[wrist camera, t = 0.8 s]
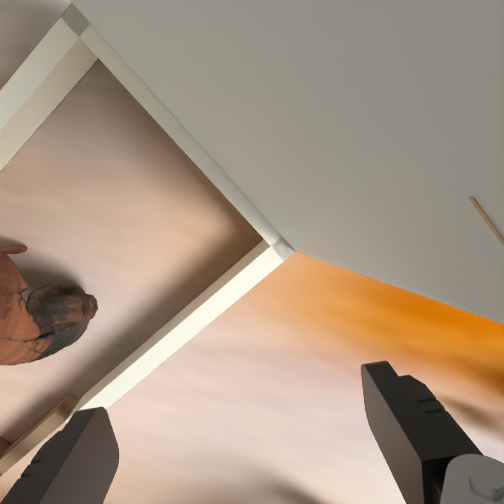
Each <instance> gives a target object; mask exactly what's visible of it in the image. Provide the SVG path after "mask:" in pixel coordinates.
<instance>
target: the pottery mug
mask: <svg viewBox="0 0 504 504" xmlns="http://www.w3.org/2000/svg"><path fill="white" fill-rule="evenodd" d="M26 250H27V247H24V246H23V247H20V246H14V247H4V248H0V365H17V364H20V363H29V362H33V361H36V360H40V359H43V358H44V357H48V356H49V355H52V354H55V353H56V352H58V351H59V350H61V349H63V348H64V347H67V346H69V345H71V344H73V343H74V342H76V341H77V340H78V339H79V338H80V337H81V336H82V335H83V333H84V332H85V330H86V328H87V325H88V323H89V320H90V319H92V318H93V317H94V316H95V314H96V311H97V310H98V306H97V300H96V298H95V297H94V296H93V295H89V294H85V292H84V290H83V289H82V288H81V287H80V286H70V287H62V286H52V285H47V286H44V287H42V288H40V289H37V290H34V291H33V292H31V293H30V295H29V296H28V300H27V302H26V301H25V300H24V299H23V297H22V296H21V294H20V293H21V292H23V291H24V290H27V289H28V285H27V283H26V282H25V280H24V278H23V276H22V275H21V272H20V270H19V269H18V268H17V267H16V266H15V265H14V263H13V261H12V260H11V259H10V258H9V256H7V254H18V253H23V252H25V251H26ZM49 328H52V330H53V331H52V332H48V333H46V334H43V335H41V336H39V335H40V334H41V333H42V330H47V329H49Z"/></svg>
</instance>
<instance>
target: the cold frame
mask: <svg viewBox="0 0 504 504" xmlns="http://www.w3.org/2000/svg"><path fill="white" fill-rule="evenodd" d="M70 1H71V2H72V3H71V4H70V6H69V7H68V8H67V9H66V10H65V12H64V13H63V14H62V15H61V17H60V18H59V19H58V20H57V22H56V23H55V24H54V25H53V26H52V28H51V29H50V30H49V31H48V33H47V34H46V35H45V36H44V37H43V39H42V40H41V41H40V42H39V44H38V45H37V46H36V47H35V49H34V50H33V51H32V52H31V53H30V55H29V56H28V57H27V58H26V60H25V61H24V62H23V63H22V64H21V66H20V67H19V68H18V69H17V71H16V72H15V73H14V74H13V75H12V77H11V78H10V79H9V80H8V82H7V83H6V84H5V85H4V87H3V88H2V89H1V90H0V171H1V170H2V169H3V168H4V166H5V165H6V164H7V163H8V162H9V161H10V160H11V158H12V157H13V156H14V155H15V154H16V153H17V152H18V150H19V149H20V148H21V147H22V146H23V145H24V143H25V142H26V141H27V140H28V139H29V138H30V137H31V135H32V134H33V133H34V132H35V131H36V130H37V129H38V127H39V126H40V125H41V124H42V123H43V122H44V121H45V119H46V118H47V117H48V116H49V115H50V114H51V112H52V111H53V110H54V109H55V108H56V107H57V106H58V104H59V103H60V102H61V101H62V100H63V99H64V98H65V96H66V95H67V94H68V93H69V92H70V91H71V89H72V88H73V87H74V86H75V85H76V84H77V83H78V81H79V80H80V79H81V78H82V77H83V76H84V75H85V73H86V72H87V71H88V70H89V69H90V68H91V67H92V65H93V64H94V63H95V62H96V61H97V60H98V58H99V60H100V61H101V62H102V63H103V64H104V65H105V66H106V67H107V68H108V69H109V70H110V72H111V73H112V74H113V75H114V76H115V77H116V78H117V79H118V80H119V81H120V82H121V84H122V85H123V86H124V87H125V88H126V89H127V90H128V91H129V92H130V93H131V94H132V96H133V97H134V98H135V99H136V100H137V101H138V102H139V103H140V104H141V105H142V106H143V108H144V109H145V110H146V111H147V112H148V113H149V114H150V115H151V116H152V117H153V118H154V120H155V121H156V122H157V123H158V124H159V125H160V126H161V127H162V128H163V129H164V130H165V132H166V133H167V134H168V135H169V136H170V137H171V138H172V139H173V140H174V141H175V142H176V144H177V145H178V146H179V147H180V148H181V149H182V150H183V151H184V152H185V153H186V154H187V156H188V157H189V158H190V159H191V160H192V161H193V162H194V163H195V164H196V165H197V166H198V168H199V169H200V170H201V171H202V172H203V173H204V174H205V175H206V176H207V177H208V178H209V180H210V181H211V182H212V183H213V184H214V185H215V186H216V187H217V188H218V189H219V190H220V192H221V193H222V194H223V195H224V196H225V197H226V198H227V199H228V200H229V201H230V202H231V204H232V205H233V206H234V207H235V208H236V209H237V210H238V211H239V212H240V213H241V214H242V216H243V217H244V218H245V219H246V220H247V221H248V222H249V223H250V224H251V225H252V226H253V228H254V229H255V230H256V231H257V232H258V233H259V234H260V235H261V236H262V237H263V238H264V240H262V241H261V242H260V243H259V244H258V245H257V246H255V247H254V248H253V249H252V250H251V251H250V252H249V253H247V254H246V255H245V256H244V257H243V258H242V259H240V260H239V261H238V262H237V263H236V264H235V265H233V266H232V267H231V268H230V269H229V270H228V271H226V272H225V273H224V274H223V275H222V276H221V277H220V278H218V279H217V280H216V281H215V282H214V283H213V284H211V285H210V286H209V287H208V288H207V289H206V290H204V291H203V292H202V293H201V294H200V295H199V296H198V297H196V298H195V299H194V300H193V301H192V302H191V303H189V304H188V305H187V306H186V307H185V308H184V309H182V310H181V311H180V312H179V313H178V314H177V315H176V316H174V317H173V318H172V319H171V320H170V321H169V322H167V323H166V324H165V325H164V326H163V327H162V328H160V329H159V330H158V331H157V332H156V333H155V334H153V335H152V336H151V337H150V338H149V339H148V340H147V341H145V342H144V343H143V344H142V345H141V346H140V347H138V348H137V349H136V350H135V351H134V352H133V353H131V354H130V355H129V356H128V357H127V358H126V359H125V360H123V361H122V362H121V363H120V364H119V365H118V366H116V367H115V368H114V369H113V370H112V371H111V372H109V373H108V374H107V375H106V376H105V377H104V378H103V379H101V380H100V381H99V382H98V383H97V384H96V385H94V386H93V387H92V388H91V389H90V390H89V391H87V392H86V393H85V394H84V395H83V397H82V398H81V400H80V401H79V403H78V404H77V405H76V407H75V408H74V410H73V411H72V412H71V414H70V415H69V417H68V418H67V420H66V421H65V422H66V423H68V421H69V420H70V418H71V417H72V415H73V414H74V413H75V412H76V411H78V410H83V409H90V408H96V407H104V408H105V409H107V408H108V407H109V406H111V405H112V404H113V403H114V402H115V401H117V400H118V399H119V398H120V397H121V396H123V395H124V394H125V393H126V392H127V391H129V390H130V389H131V388H132V387H133V386H135V385H136V384H137V383H138V382H139V381H141V380H142V379H143V378H144V377H145V376H147V375H148V374H149V373H150V372H151V371H153V370H154V369H155V368H156V367H157V366H159V365H160V364H161V363H162V362H163V361H165V360H166V359H167V358H168V357H169V356H171V355H172V354H173V353H174V352H175V351H177V350H178V349H179V348H180V347H181V346H183V345H184V344H185V343H186V342H187V341H189V340H190V339H191V338H192V337H193V336H195V335H196V334H197V333H198V332H199V331H201V330H202V329H203V328H204V327H205V326H207V325H208V324H209V323H210V322H211V321H213V320H214V319H215V318H216V317H217V316H219V315H220V314H221V313H222V312H223V311H225V310H226V309H227V308H228V307H229V306H231V305H232V304H233V303H234V302H235V301H237V300H238V299H239V298H240V297H241V296H243V295H244V294H245V293H246V292H247V291H249V290H250V289H251V288H252V287H253V286H255V285H256V284H257V283H258V282H259V281H261V280H262V279H263V278H264V277H265V276H267V275H268V274H269V273H270V272H271V271H273V270H274V269H275V268H276V267H277V266H279V265H280V264H281V263H282V262H283V261H285V260H286V259H287V258H288V257H289V256H291V255H292V254H293V253H294V252H295V251H296V252H299V253H301V254H304V255H307V256H310V257H313V258H316V259H319V260H321V261H324V262H327V263H330V264H333V265H336V266H338V267H341V268H344V269H347V270H350V271H353V272H356V273H358V274H361V275H364V276H367V277H370V278H373V279H375V280H378V281H381V282H384V283H387V284H390V285H393V286H395V287H398V288H401V289H404V290H407V291H410V292H413V293H415V294H418V295H421V296H424V297H427V298H430V299H432V300H435V301H438V302H441V303H444V304H447V305H450V306H452V307H455V308H458V309H461V310H464V311H467V312H470V313H472V314H475V315H478V316H481V317H484V318H487V319H489V320H492V321H495V322H498V323H501V324H504V0H70Z"/></svg>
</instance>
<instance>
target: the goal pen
mask: <svg viewBox="0 0 504 504" xmlns="http://www.w3.org/2000/svg"><path fill="white" fill-rule="evenodd" d="M78 402H79V400H77V399H76V398H75V397H74V396H73V395H71V394H70V393H69V394H68V395H67V396H66V397H65V398H64V399H63V400H61V401H60V402H59V403H58V404H57V405H56V406H55V407H54V408H52V409H51V410H50V411H49V412H48V413H47V414H46V415H44V416H43V417H42V418H41V419H40V420H39V421H38V422H36V423H35V424H34V425H33V426H32V427H31V428H30V429H28V430H27V431H26V432H25V433H24V434H23V435H22V436H20V437H19V438H18V439H17V440H16V441H15V442H14V443H12V444H11V445H10V444H9V443H7V442H6V441H4V440H3V439H2V438H0V476H1V475H3V474H4V473H5V472H6V471H7V470H8V469H10V468H11V467H12V466H13V465H14V464H15V463H17V462H18V461H19V460H20V459H21V458H22V457H24V456H25V455H26V454H27V453H28V452H29V451H31V450H32V449H33V448H34V447H35V446H37V445H38V444H39V443H40V442H41V441H42V440H44V439H45V438H46V437H47V436H48V435H49V434H51V433H52V432H53V431H54V430H55V429H56V428H58V427H59V426H60V425H61V424H62V423H63V422H65V421H66V419H67V418H68V417H69V415H70V414H71V412H72V411H73V409H74V408H75V407H76V405H77V404H78Z"/></svg>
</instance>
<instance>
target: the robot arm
mask: <svg viewBox="0 0 504 504" xmlns="http://www.w3.org/2000/svg"><path fill="white" fill-rule="evenodd" d="M361 376H362V385H363V394H364V403H365V411H366V415H367V419H368V423H369V426H370V428H371V431H372V433H373V435H374V437H375V439H376V441H377V443H378V445H379V447H380V449H381V452H382V454H383V456H384V458H385V460H386V462H387V464H388V466H389V468H390V470H391V472H392V475H393V477H394V479H395V481H396V483H397V485H398V487H399V489H400V491H401V493H402V495H403V498H404V500H405V502H406V504H504V463H502V462H500V461H498V460H496V459H493V458H490V457H487V456H484V455H483V454H482V453H481V452H480V450H479V449H478V448H477V447H476V446H475V444H474V443H473V442H472V441H471V439H470V438H469V437H468V436H467V435H466V433H465V432H464V431H463V430H462V429H461V427H460V426H459V425H458V424H457V423H456V421H455V420H454V419H453V418H452V416H451V415H450V414H449V413H448V412H447V411H445V408H444V407H443V406H442V404H441V403H440V402H439V401H438V400H436V397H435V396H434V395H433V393H432V392H431V391H430V390H429V389H428V387H427V386H426V385H425V384H423V383H422V382H420V381H418V380H417V379H415V378H413V377H412V376H410V375H405V376H398V375H397V374H396V372H395V371H394V369H393V368H392V367H391V365H390V364H389V363H388V362H387V361H380V362H374V363H368V364H362V365H361ZM118 463H119V448H118V444H117V441H116V438H115V435H114V432H113V429H112V426H111V423H110V420H109V417H108V413H107V411H106V409H105V408H104V407H96V408H90V409H83V410H78V411H76V412H75V413H74V414H73V415H72V417H71V418H70V420H69V421H68V423H67V424H66V425H65V427H64V428H63V430H62V431H58V432H57V433H56V434H55V435H54V436H53V437H52V438H50V439H49V440H48V441H47V442H46V443H45V444H44V445H43V446H42V447H41V448H40V450H39V451H38V452H37V454H36V455H35V456H34V458H33V459H32V461H31V464H30V465H28V466H27V467H26V469H25V470H24V472H23V473H22V474H21V478H20V479H18V480H17V481H16V483H15V484H14V485H13V487H12V488H11V489H10V491H9V492H8V494H7V495H6V496H5V498H4V499H3V500H2V502H1V503H0V504H103V501H104V499H105V497H106V494H107V492H108V490H109V487H110V485H111V483H112V480H113V478H114V476H115V473H116V471H117V468H118Z"/></svg>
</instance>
